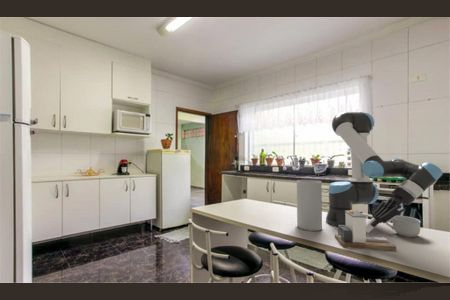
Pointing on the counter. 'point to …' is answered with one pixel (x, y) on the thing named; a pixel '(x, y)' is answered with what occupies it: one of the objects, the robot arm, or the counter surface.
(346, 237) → the end clamp
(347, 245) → the board
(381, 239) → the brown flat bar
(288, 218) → the counter surface
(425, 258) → the counter surface
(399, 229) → the teacup
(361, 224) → the white rectangular container
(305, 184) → the cylinder vase
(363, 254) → the counter surface
